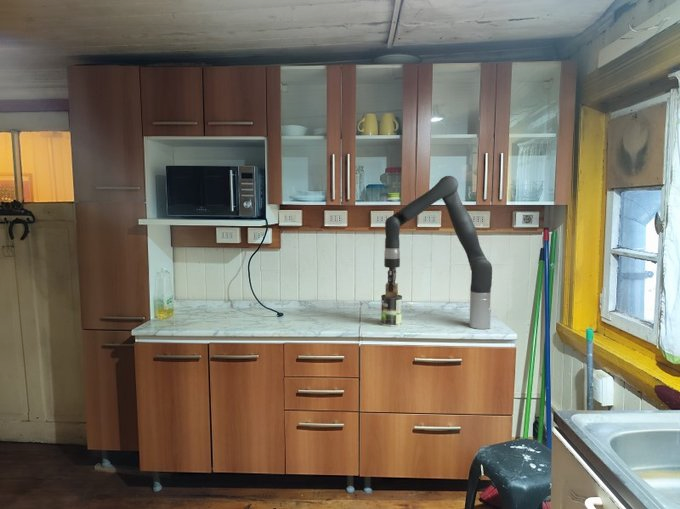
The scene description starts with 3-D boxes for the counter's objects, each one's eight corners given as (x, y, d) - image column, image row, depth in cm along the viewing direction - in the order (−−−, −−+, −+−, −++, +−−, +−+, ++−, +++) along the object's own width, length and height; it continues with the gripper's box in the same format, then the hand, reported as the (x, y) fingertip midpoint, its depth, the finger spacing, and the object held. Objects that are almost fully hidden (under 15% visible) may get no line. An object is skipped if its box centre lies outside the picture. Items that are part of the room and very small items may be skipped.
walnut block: (397, 295, 210) (397, 283, 210) (396, 297, 205) (396, 285, 204) (386, 294, 211) (386, 282, 211) (385, 296, 206) (385, 284, 206)
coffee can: (386, 327, 203) (386, 298, 202) (377, 322, 213) (377, 294, 212) (405, 325, 206) (406, 297, 205) (396, 320, 216) (396, 293, 215)
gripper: (398, 258, 199) (398, 292, 200) (400, 256, 213) (400, 288, 214) (382, 258, 201) (382, 292, 202) (386, 256, 214) (385, 287, 216)
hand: (391, 290), depth 208 cm, fingers open, 8 cm apart
